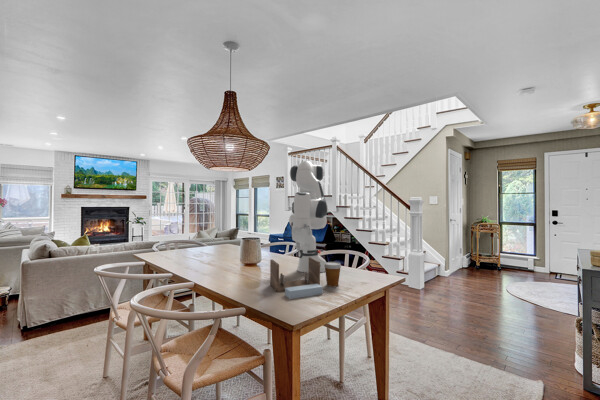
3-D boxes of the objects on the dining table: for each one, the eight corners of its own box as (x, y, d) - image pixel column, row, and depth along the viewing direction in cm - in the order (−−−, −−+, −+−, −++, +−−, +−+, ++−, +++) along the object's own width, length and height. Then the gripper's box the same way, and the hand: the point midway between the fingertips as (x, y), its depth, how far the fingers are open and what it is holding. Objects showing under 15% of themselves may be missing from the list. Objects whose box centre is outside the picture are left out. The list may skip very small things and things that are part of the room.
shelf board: (316, 291, 154) (316, 283, 154) (322, 294, 149) (322, 286, 149) (285, 295, 146) (285, 287, 146) (289, 299, 141) (290, 291, 141)
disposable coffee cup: (331, 288, 158) (331, 266, 158) (320, 284, 166) (320, 262, 166) (344, 285, 163) (344, 264, 163) (333, 281, 171) (333, 261, 171)
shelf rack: (310, 281, 172) (310, 257, 172) (319, 287, 159) (319, 261, 159) (270, 284, 164) (270, 259, 164) (276, 292, 151) (276, 264, 151)
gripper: (315, 225, 139) (315, 254, 139) (301, 223, 158) (300, 248, 158) (303, 225, 137) (303, 255, 137) (289, 223, 156) (289, 249, 156)
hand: (301, 251), depth 147 cm, fingers open, 8 cm apart
